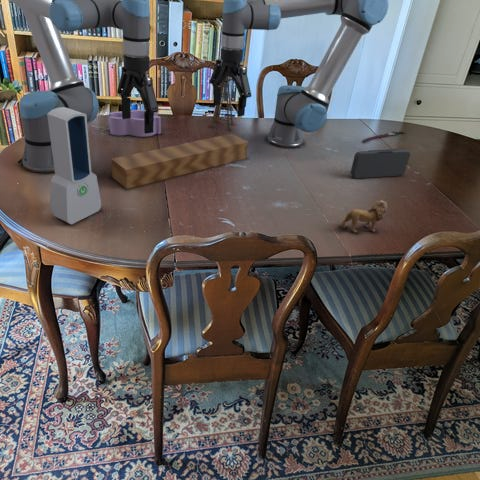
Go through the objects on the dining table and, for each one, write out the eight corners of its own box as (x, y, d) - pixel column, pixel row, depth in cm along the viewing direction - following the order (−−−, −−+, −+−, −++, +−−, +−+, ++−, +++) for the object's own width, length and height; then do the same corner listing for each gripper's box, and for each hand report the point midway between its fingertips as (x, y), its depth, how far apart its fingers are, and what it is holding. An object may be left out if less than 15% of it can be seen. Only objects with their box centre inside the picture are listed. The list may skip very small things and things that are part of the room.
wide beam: (126, 189, 150) (125, 169, 146) (112, 177, 156) (111, 158, 152) (246, 158, 180) (247, 141, 176) (230, 149, 185) (231, 133, 182)
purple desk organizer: (111, 137, 184) (110, 120, 181) (108, 126, 194) (107, 110, 190) (162, 136, 191) (162, 119, 187) (156, 125, 200) (156, 109, 197)
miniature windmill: (228, 130, 204) (234, 58, 188) (210, 127, 205) (214, 55, 189) (233, 123, 211) (239, 54, 195) (215, 120, 212) (219, 51, 196)
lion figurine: (375, 222, 146) (382, 196, 141) (385, 230, 142) (393, 204, 137) (334, 226, 141) (341, 200, 136) (343, 236, 137) (350, 209, 132)
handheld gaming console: (400, 172, 181) (407, 148, 176) (404, 175, 179) (412, 151, 174) (348, 175, 174) (354, 150, 169) (352, 179, 172) (358, 153, 167)
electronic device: (68, 226, 128) (55, 120, 112) (50, 217, 131) (34, 112, 115) (102, 209, 137) (94, 109, 121) (84, 201, 140) (74, 102, 124)
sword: (401, 130, 224) (401, 128, 224) (406, 132, 222) (407, 130, 222) (357, 141, 209) (358, 139, 208) (363, 144, 207) (363, 141, 206)
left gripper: (171, 65, 130) (169, 137, 142) (126, 44, 145) (128, 111, 157) (148, 66, 126) (148, 141, 138) (104, 45, 141) (107, 114, 152)
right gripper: (265, 55, 152) (259, 118, 163) (217, 40, 167) (215, 99, 178) (248, 57, 147) (243, 122, 159) (200, 41, 162) (199, 102, 174)
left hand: (137, 125), depth 147 cm, fingers open, 13 cm apart
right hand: (228, 110), depth 169 cm, fingers open, 13 cm apart
